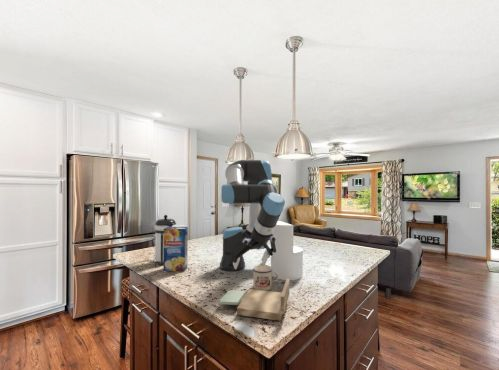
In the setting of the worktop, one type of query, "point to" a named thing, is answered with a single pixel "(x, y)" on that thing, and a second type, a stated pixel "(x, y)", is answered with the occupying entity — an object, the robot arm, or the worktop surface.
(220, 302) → the panel
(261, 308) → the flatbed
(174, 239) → the juice carton
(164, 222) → the coffee press
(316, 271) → the worktop surface
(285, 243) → the cylinder
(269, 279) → the teacup with lid
